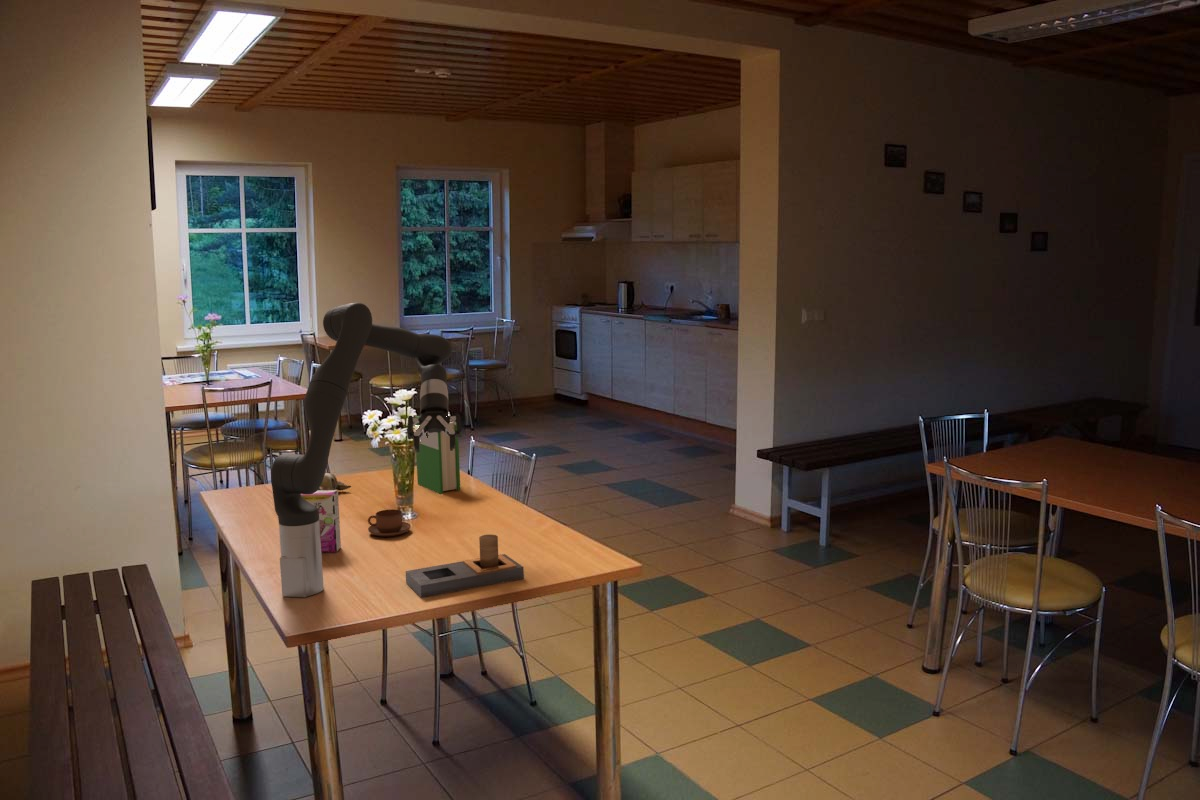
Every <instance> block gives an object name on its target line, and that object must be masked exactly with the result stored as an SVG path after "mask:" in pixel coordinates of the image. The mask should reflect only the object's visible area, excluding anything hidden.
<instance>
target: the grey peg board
mask: <svg viewBox="0 0 1200 800" xmlns="http://www.w3.org/2000/svg"><path fill="white" fill-rule="evenodd" d="M498 561H499V566H496V567H490V568H485V569H481V568H480V557H477V558H472V559H466V560H461V561H455V562H451V563H445V564H440V565H434V566H433V565H432V566H427V567H420V568H416V569H415V568H414V569H409V570H405V583H406V585H408V586H409V588H410V589H412V590H413V591H414V593H416V594H417V595H418V596H419V597H420V598H421V599H423V598H428V597H433V596H440V595H444V594H449V593H454V592H455V593H456V592H460V591H465V590H466V591H467V590H471V589H476V588H482V587H486V586H493V585H497V584H504V583H507V582H514V581H519V580H524V578H525V571H524V565H521V564H520V563H518V562H517V561H516V560H514V559H513V558H511V557H510V556H508V555H507V554H505V553H502V554H501V553H500V554H498Z"/></svg>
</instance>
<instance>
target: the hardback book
mask: <svg viewBox="0 0 1200 800" xmlns="http://www.w3.org/2000/svg"><path fill="white" fill-rule="evenodd" d="M419 416H420V415H415V416H414V418H419ZM416 425H420V424H419V423H416ZM449 425H450V427H451V428H452V429H453V430H454V431H456V430H457V426H456V425H455V424H453V422H452V421H450V423H449ZM428 435H429V436H428V438H427V436H426V434H425V435H424V436H422V437H421V438H420V439H421V443H420V452H417V450H415V454H416V458H415V459H416V473H417V474H416V475H417V476H416V478H417V480H416V481H417V485H418V486H421V487H423V488H425V489H428V490H430V491H432V492H435V493H437V494H440V495H441V494H443V495H444V492H446V491H451V490H455V491H457V492H459V491H461V474H460V473H461V472H460V470H461V469H460V449H459V448H460V447H459V443H460V442H459V437H457V438H455V449H453V451H450V437H449V436H448V435H446V434H445V433H444V432H443V431H441V433H437V432H433V433H429V432H428Z"/></svg>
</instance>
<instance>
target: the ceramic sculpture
mask: <svg viewBox="0 0 1200 800" xmlns="http://www.w3.org/2000/svg"><path fill="white" fill-rule="evenodd" d="M351 487H352V485H347V484H345V482H343V481H341V480H338V479H337V477H336V475H335V474H334V473H332V472H327V470H326V471H325V475H324V479H323V482H322V484H321V486H320V488H319V489H318V490H338V491H345V490H348V489H350V488H351Z"/></svg>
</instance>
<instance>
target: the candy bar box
mask: <svg viewBox="0 0 1200 800" xmlns="http://www.w3.org/2000/svg"><path fill="white" fill-rule="evenodd" d="M301 496H302V497H303V498H304V499H305V500H306V501H307V502H309V503H311V504H313V505H314V506H316V507H317V508H318V510H319V523H320V539H321V554H322V553H338V551H339V550H340V549H341V548H342V543H341V542H342V541H341V539H342V538H341V525H340V523H341V522H340V507H339V506H340V505H339V490H317V491H316V492H315V493H313V494H301Z"/></svg>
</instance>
